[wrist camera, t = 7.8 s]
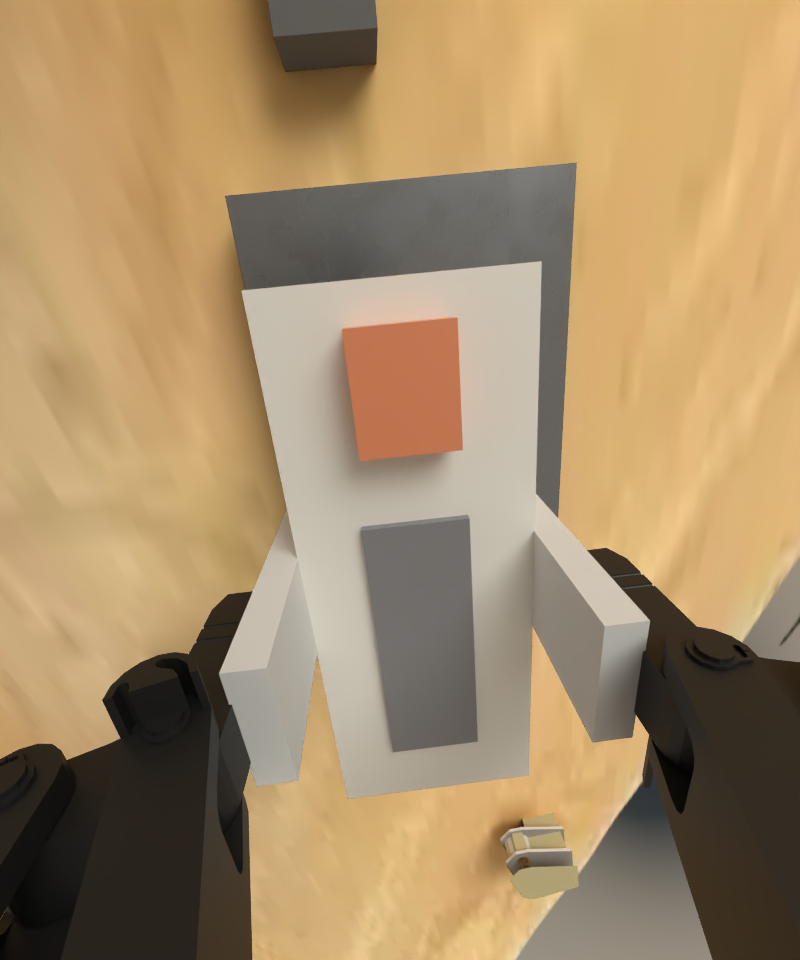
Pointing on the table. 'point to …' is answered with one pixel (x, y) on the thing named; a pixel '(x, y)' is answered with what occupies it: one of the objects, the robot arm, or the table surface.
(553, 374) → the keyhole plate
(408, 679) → the light grey box
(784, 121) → the table surface
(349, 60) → the block
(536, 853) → the building
